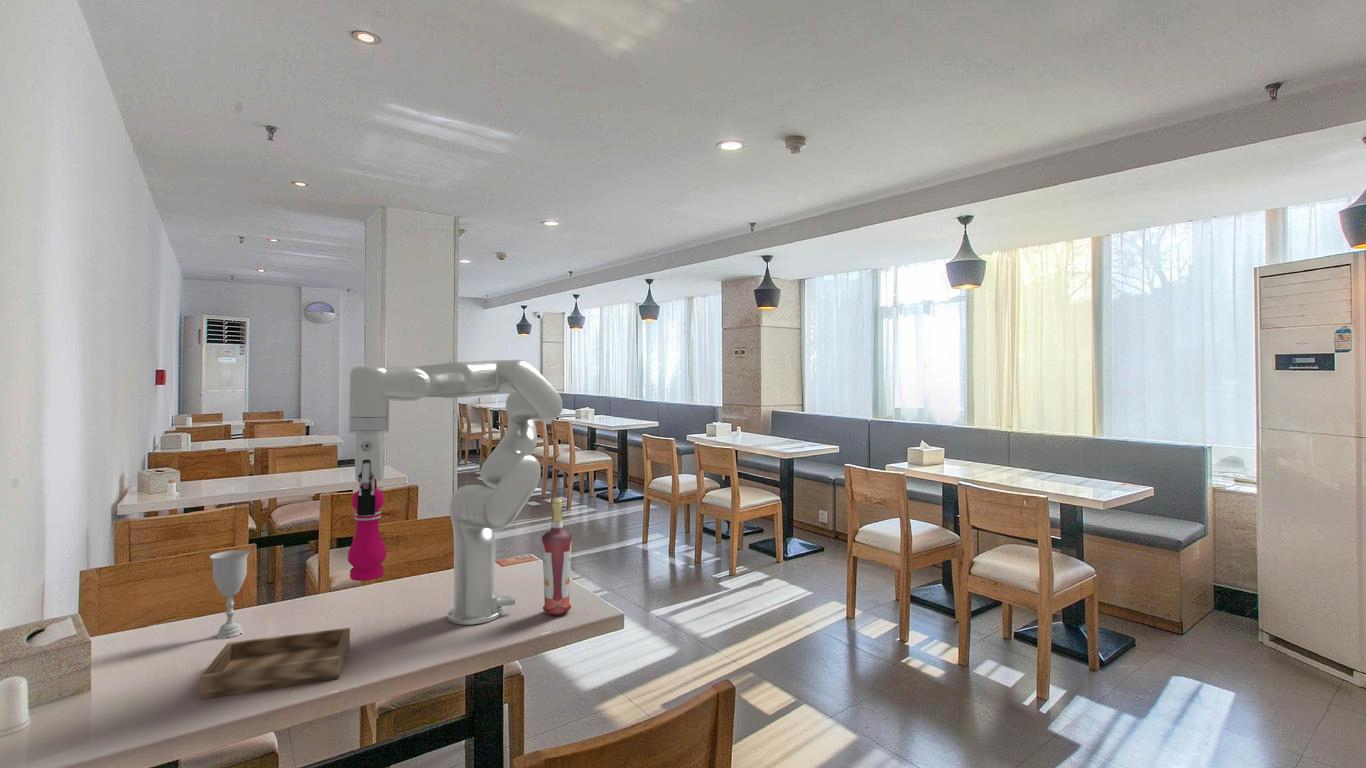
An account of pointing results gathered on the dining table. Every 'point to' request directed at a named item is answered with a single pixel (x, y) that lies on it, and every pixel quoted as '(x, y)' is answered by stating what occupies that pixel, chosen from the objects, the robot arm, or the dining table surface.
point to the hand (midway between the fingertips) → (367, 511)
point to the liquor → (556, 563)
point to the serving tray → (276, 662)
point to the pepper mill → (367, 543)
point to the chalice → (229, 584)
